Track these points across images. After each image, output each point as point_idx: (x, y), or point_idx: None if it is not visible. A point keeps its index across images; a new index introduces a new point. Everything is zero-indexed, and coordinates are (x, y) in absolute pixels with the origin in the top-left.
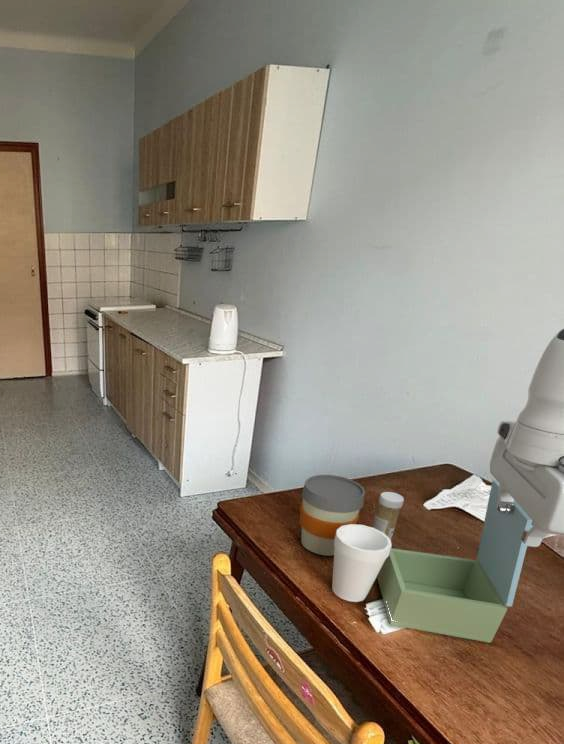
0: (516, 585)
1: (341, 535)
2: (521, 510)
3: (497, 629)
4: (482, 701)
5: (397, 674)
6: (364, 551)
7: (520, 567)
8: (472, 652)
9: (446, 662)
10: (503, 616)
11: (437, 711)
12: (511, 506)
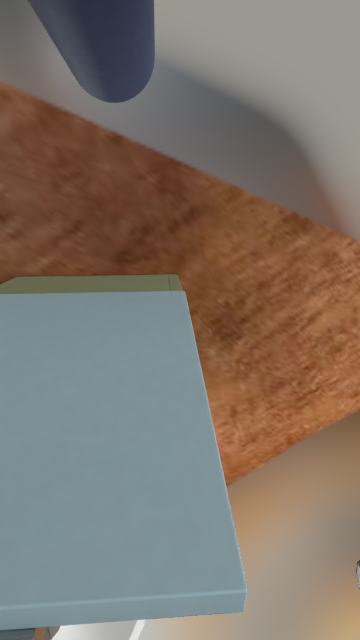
0: (190, 322)
1: (58, 632)
2: (103, 615)
3: (179, 281)
4: (322, 329)
5: (291, 431)
6: (145, 620)
7: (198, 360)
8: (212, 313)
9: (248, 360)
10: (182, 290)
11: (350, 393)
12: (39, 634)
